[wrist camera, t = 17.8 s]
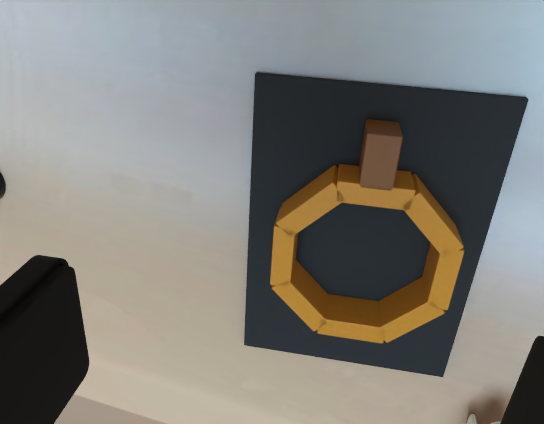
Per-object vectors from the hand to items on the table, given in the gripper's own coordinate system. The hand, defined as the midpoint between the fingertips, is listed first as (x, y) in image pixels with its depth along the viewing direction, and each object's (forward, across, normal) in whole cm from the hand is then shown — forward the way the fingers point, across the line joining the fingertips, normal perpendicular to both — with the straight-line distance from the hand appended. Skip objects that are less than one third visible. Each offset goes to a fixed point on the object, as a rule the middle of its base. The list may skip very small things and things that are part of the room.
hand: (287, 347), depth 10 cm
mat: (+22, -3, +10) cm, 25 cm away
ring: (+22, -3, +9) cm, 24 cm away
